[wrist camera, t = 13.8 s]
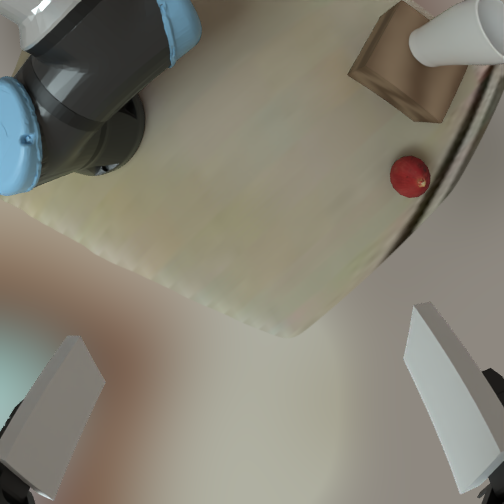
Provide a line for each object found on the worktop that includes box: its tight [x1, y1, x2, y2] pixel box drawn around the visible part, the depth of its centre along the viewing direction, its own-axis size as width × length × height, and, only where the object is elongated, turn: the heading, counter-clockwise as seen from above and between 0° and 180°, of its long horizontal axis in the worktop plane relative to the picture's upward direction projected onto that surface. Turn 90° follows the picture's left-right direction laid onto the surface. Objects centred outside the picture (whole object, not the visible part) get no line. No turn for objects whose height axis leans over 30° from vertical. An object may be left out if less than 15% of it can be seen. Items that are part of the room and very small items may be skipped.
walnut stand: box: [348, 0, 468, 123], centre depth 31 cm, size 12×12×8 cm
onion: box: [390, 156, 430, 198], centre depth 37 cm, size 6×6×8 cm
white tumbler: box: [409, 0, 504, 67], centre depth 20 cm, size 7×7×15 cm
